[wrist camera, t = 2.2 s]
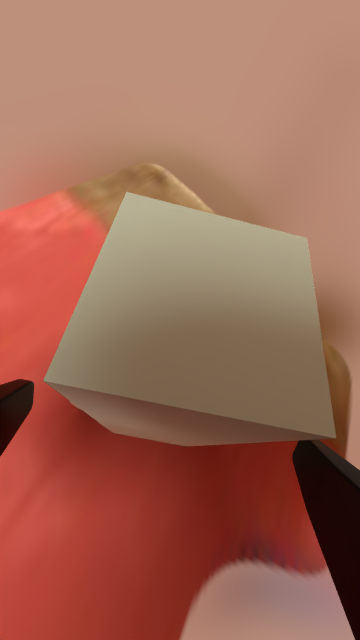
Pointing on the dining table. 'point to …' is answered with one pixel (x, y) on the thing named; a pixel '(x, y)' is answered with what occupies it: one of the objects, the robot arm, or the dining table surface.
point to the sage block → (197, 332)
